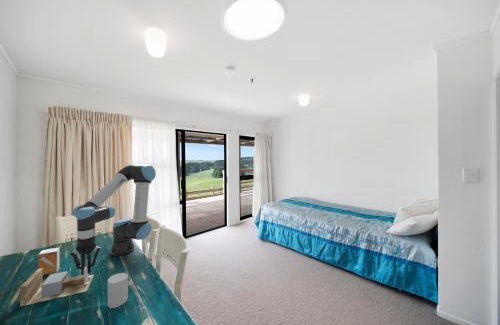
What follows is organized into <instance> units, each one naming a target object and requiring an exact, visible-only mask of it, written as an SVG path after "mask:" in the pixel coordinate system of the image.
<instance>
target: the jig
mask: <svg viewBox="0 0 500 325" xmlns="http://www.w3.org/2000/svg"><path fill="white" fill-rule="evenodd" d="M94 276H95V274H91V275H89V278H88V280H87V281H86V282H85V284H82V285H78V286H73V287H68V288H65V289H64V290H62V292H61V293H59V294H55V295H50V296H46V297H41V285H42V284H43V283H44V279H43V278H44V275H43V268H41V269H38V268H37V269H36V270H35V271H34V272H33V273H32V274H31V275H30V276H29V277H28V278H27V279H26V280H25V281H24V282H23V283H22V284H20V285H21V286H20V287H19V298H20V299H19V301H20V302H19V304H20V305H19V306H20V307H24V306H27V305H28V306H29V305H32V304H36V303H42V302H46V301H50V300H54V299H55V300H56V299H58V298H59V299H60V298H64V297H67V296H72V295H76V294H77V295H78V294H80V293H81V294H82V293H85V292H87V291H88V290H89V287H90V285H91V283H92V281H93V279H94Z"/></svg>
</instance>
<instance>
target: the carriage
mask: <svg viewBox="0 0 500 325" xmlns="http://www.w3.org/2000/svg"><path fill="white" fill-rule="evenodd" d="M68 274H69V272H68V271H62V272H61V271H60V272H56V273H51V274H48V277H47V278H45V280H43V284H42V285H41V297H46V296H50V295H55V294H59V293H61V292H62V281H63V279H65V278H69V276H68Z"/></svg>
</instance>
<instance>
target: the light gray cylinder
mask: <svg viewBox="0 0 500 325" xmlns="http://www.w3.org/2000/svg"><path fill="white" fill-rule="evenodd" d="M127 299H128V300H129V274H128V273H126V272H119V273H115V274H113V275H111V276H109V278H108V279H107V308H108V307H109V309H111V308H114V309H117V308H116V307H118V306H120V305H122V304H123V303H125V302H126V301H127ZM127 302H128V301H127ZM127 302H126V303H127ZM126 303H125V304H126ZM118 308H119V307H118Z"/></svg>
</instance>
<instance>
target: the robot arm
mask: <svg viewBox="0 0 500 325" xmlns="http://www.w3.org/2000/svg"><path fill="white" fill-rule="evenodd" d="M155 169H156V168H155V167H154V166H152V165H151V164H145V163H139V164H138V163H137V164H136V163H135V164H134V163H133V164H128V165H126V166H124V167H123V168H120V169H119V171H117V172H116V173H115V174H114V177H113V178H111V179H110V180H109V181H108V182H107V183H106V184H105V185H104V186H103V187H101V189H99V190H98V191H97V192H96V193H95V194H94V195H93V196H91V198H89V200H87V201H86V202H85V203H83V204H82V205H77V206H75V208H73V210H72V215H73V217H74V218H76V248H75V249H74V250H72V251H71V252H70V256H71V257H72V258H73V261H74V264H75V267H76V270H81V271H80V272H81V274H80V275H84V281H87V280H88V278H89V276H90V275H89V274H91V272H92V267H94V266H95V265H96V262H97V259H98V254H99V252H100V251H101V249H102V246H97V244H96V224H97V223H100V222H103V221H106V220H110V219H111V218H113V217H115V215H116V209H115V207H114V206H112V205H105V206H103V205H104V204H105V203H106V202H107V201H108V200H109V199H110V198H111V197H112V196H113V195H114V194H115V193H116V192H117V191H118V190H119V189H120V188H121V187H122V186H123V185H125V184H127V183H128V182H131V181H132V180H133V183H134V184H135V193H134V201H133V203H134V204H133V218H130V217H129V218H123V219H119V220H115V221H114V223H113V225H112V244H111V247H110V250H109V254H110V255H111V256H115V257H116V256H125V255H128V254H130V253H132V252H133V251H134V250H135V245H134V242H133V240H137V241H139V240H141V241H142V240H143V241H144V240H145V239H147V238H148V237H149V236H150V234H151V232H152V230H153V229H152V228H153V226H152V224H151V223H149V221H150V220H149V218H148V217H147V214H148V202H149V190H150V185H151V184H152V182H153V180H155V178H156V170H155ZM93 251H95V252H94V256H93V259H92V252H93ZM127 253H128V254H127ZM78 255H80V258H81V260H80V258H79V256H78ZM86 258H87V259H86ZM86 260H87V261H86ZM86 262H87V263H86ZM86 264H87V266H86Z"/></svg>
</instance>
